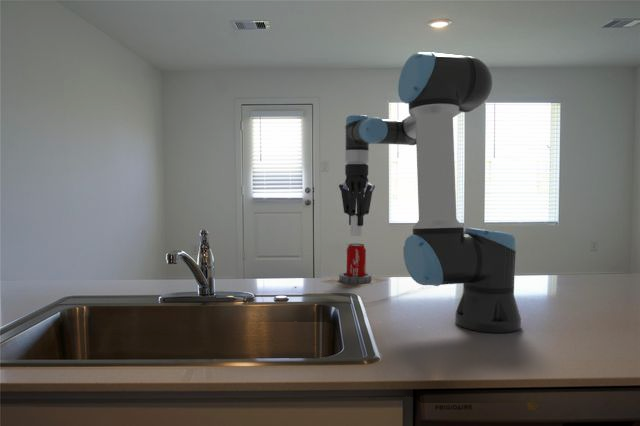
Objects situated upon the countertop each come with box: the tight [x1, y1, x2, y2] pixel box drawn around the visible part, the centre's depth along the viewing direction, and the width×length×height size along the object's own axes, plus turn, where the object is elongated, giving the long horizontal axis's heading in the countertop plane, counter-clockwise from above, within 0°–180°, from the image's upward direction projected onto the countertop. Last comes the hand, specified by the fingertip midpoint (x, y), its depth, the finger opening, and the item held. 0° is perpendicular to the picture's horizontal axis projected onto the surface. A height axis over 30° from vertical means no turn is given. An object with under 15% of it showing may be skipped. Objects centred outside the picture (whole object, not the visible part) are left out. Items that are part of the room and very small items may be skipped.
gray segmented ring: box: [338, 271, 373, 284], centre depth 172 cm, size 10×10×2 cm
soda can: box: [346, 242, 367, 277], centre depth 172 cm, size 6×6×12 cm
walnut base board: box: [321, 276, 389, 289], centre depth 173 cm, size 18×14×2 cm
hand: (355, 235), depth 172 cm, fingers closed
